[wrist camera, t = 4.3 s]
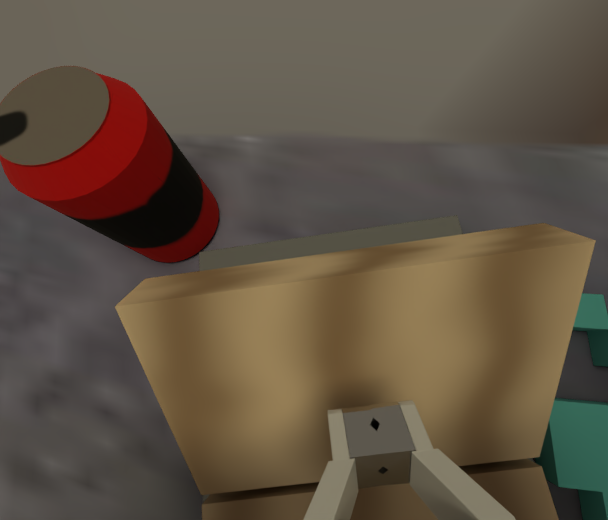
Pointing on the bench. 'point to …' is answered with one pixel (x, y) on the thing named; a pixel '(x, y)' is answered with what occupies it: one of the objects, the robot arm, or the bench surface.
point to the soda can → (104, 162)
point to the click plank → (361, 349)
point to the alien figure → (582, 426)
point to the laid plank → (393, 497)
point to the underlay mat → (329, 245)
